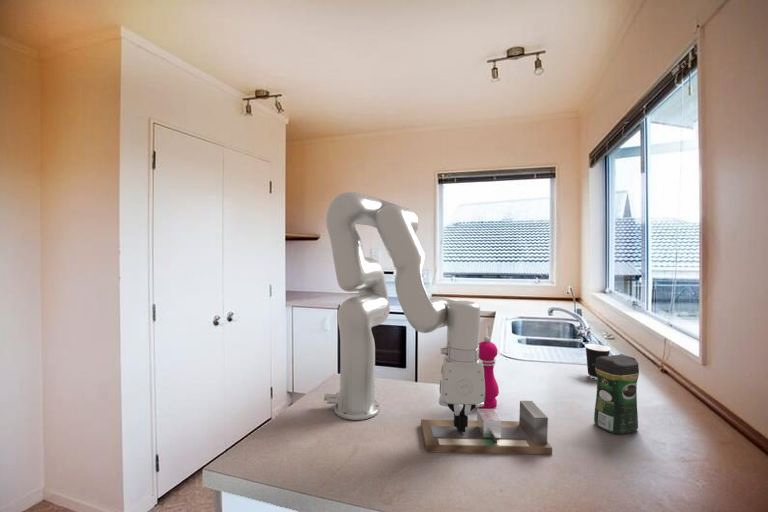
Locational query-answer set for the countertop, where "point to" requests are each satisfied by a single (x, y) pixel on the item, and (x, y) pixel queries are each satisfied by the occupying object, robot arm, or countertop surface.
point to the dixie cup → (594, 357)
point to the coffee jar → (616, 393)
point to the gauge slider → (489, 424)
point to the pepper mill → (489, 372)
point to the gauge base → (514, 438)
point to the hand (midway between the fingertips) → (460, 429)
